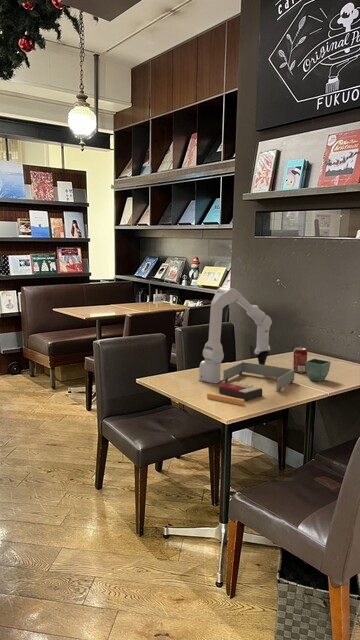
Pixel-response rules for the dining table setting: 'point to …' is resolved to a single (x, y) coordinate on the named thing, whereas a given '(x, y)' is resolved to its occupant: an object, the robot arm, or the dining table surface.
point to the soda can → (299, 359)
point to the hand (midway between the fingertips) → (261, 366)
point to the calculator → (241, 391)
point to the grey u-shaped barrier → (261, 372)
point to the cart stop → (225, 398)
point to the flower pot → (317, 369)
